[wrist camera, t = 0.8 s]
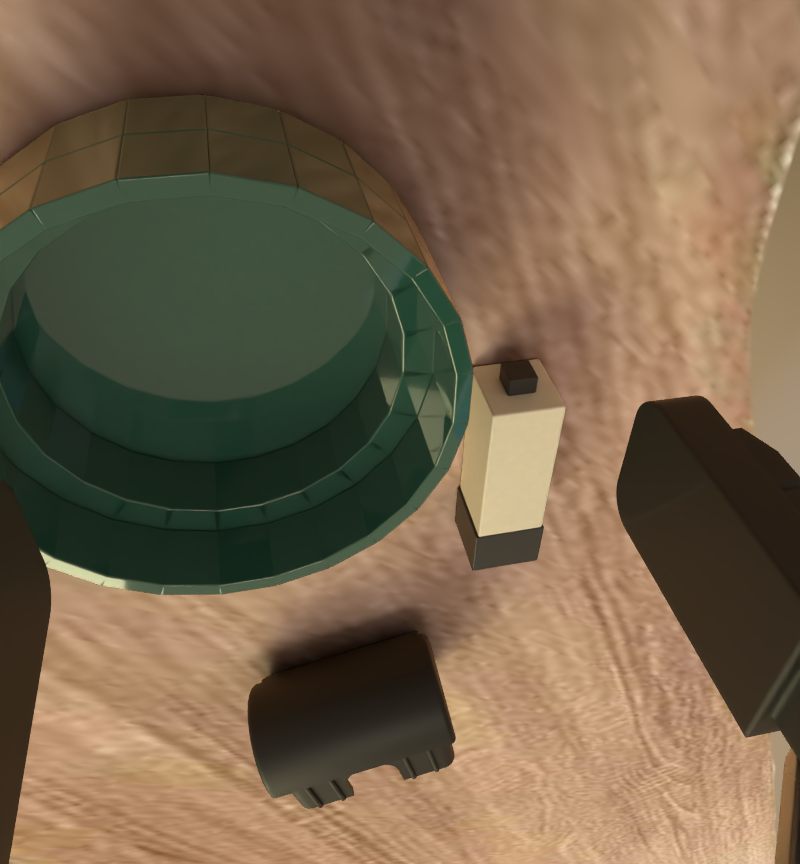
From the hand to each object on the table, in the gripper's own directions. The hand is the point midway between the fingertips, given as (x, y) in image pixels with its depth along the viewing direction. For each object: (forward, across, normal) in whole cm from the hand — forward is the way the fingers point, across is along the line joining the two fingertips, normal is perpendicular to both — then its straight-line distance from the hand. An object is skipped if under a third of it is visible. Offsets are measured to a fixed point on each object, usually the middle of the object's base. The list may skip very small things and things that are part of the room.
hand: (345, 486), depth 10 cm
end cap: (+18, -2, +32) cm, 37 cm away
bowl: (+17, +2, +8) cm, 19 cm away
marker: (+18, -9, +16) cm, 25 cm away
